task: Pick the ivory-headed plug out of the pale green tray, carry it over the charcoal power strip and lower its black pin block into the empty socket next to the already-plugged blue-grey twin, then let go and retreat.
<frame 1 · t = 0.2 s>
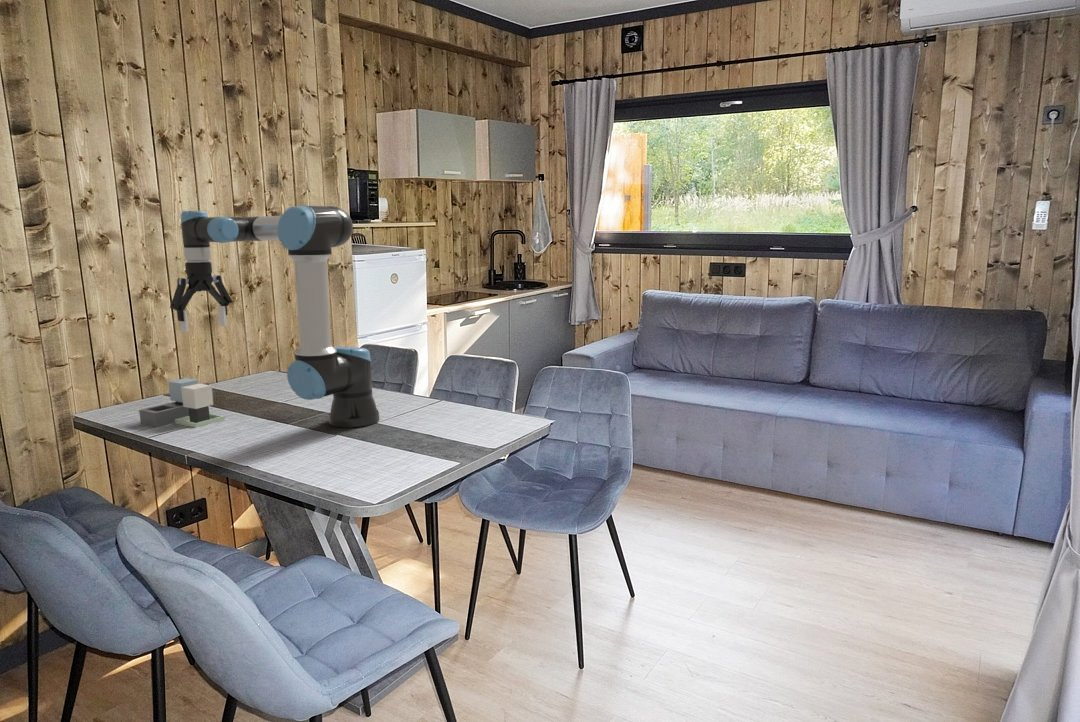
hand: (204, 328, 240), 27 cm above the table, fingers open, 13 cm apart
plug: (200, 421, 231), point 1 cm above the table, touching tray
tray: (200, 423, 231), on the table
strip: (174, 421, 234), on the table
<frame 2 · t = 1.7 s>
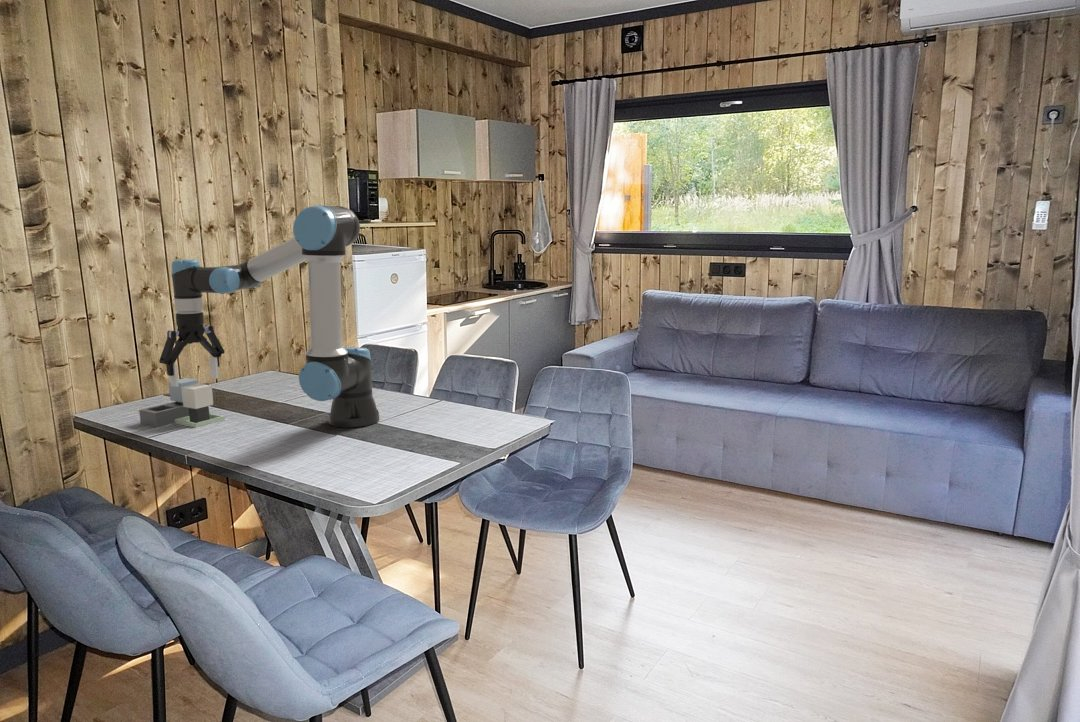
hand: (195, 381, 229), 13 cm above the table, fingers open, 13 cm apart
nothing on the table moved.
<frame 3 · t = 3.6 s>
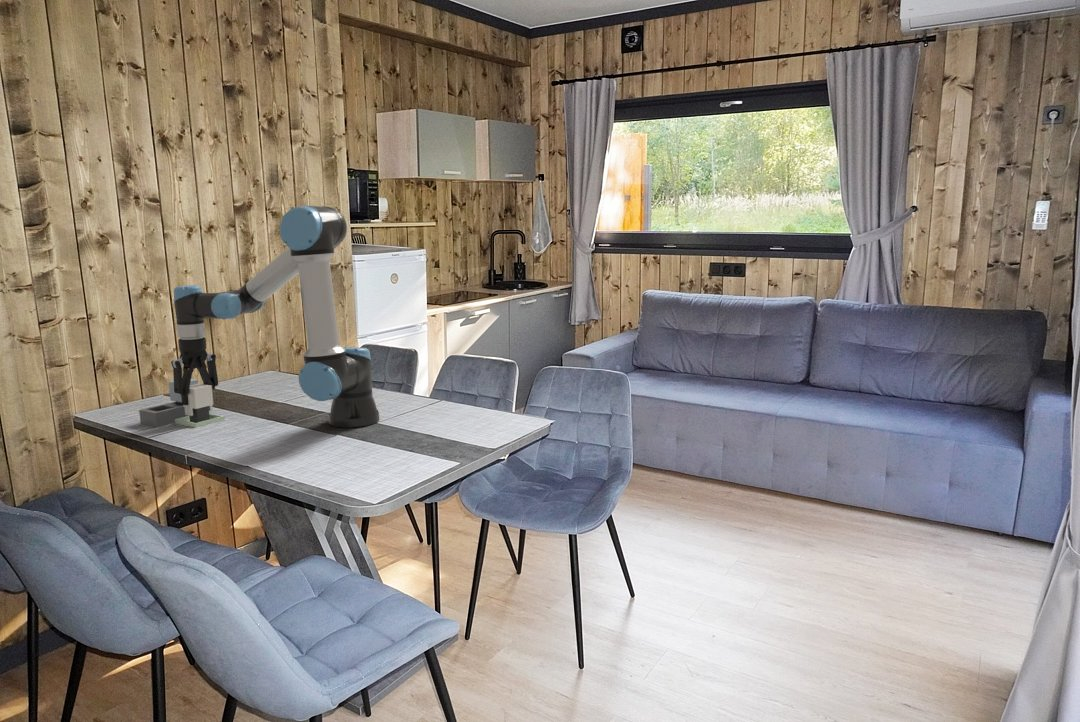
hand: (199, 412, 230), 3 cm above the table, fingers closed on plug, 6 cm apart
plug: (200, 421, 231), point 1 cm above the table, touching gripper, tray
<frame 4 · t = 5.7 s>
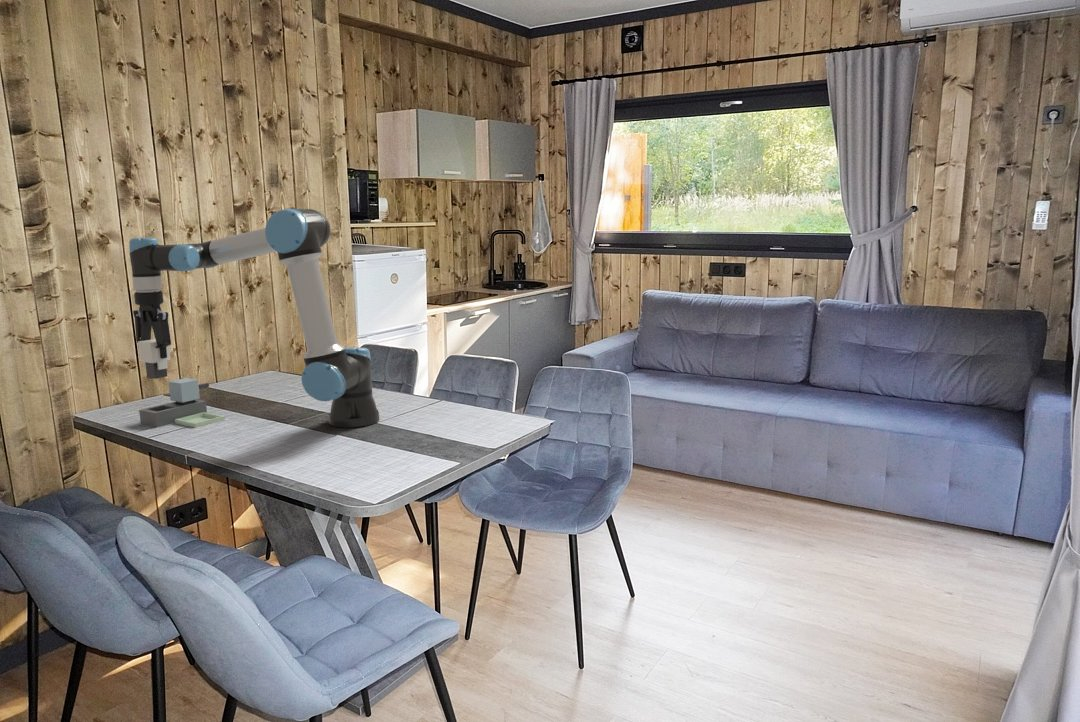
hand: (156, 367, 227), 18 cm above the table, fingers closed on plug, 6 cm apart
plug: (157, 376, 228), point 15 cm above the table, touching gripper
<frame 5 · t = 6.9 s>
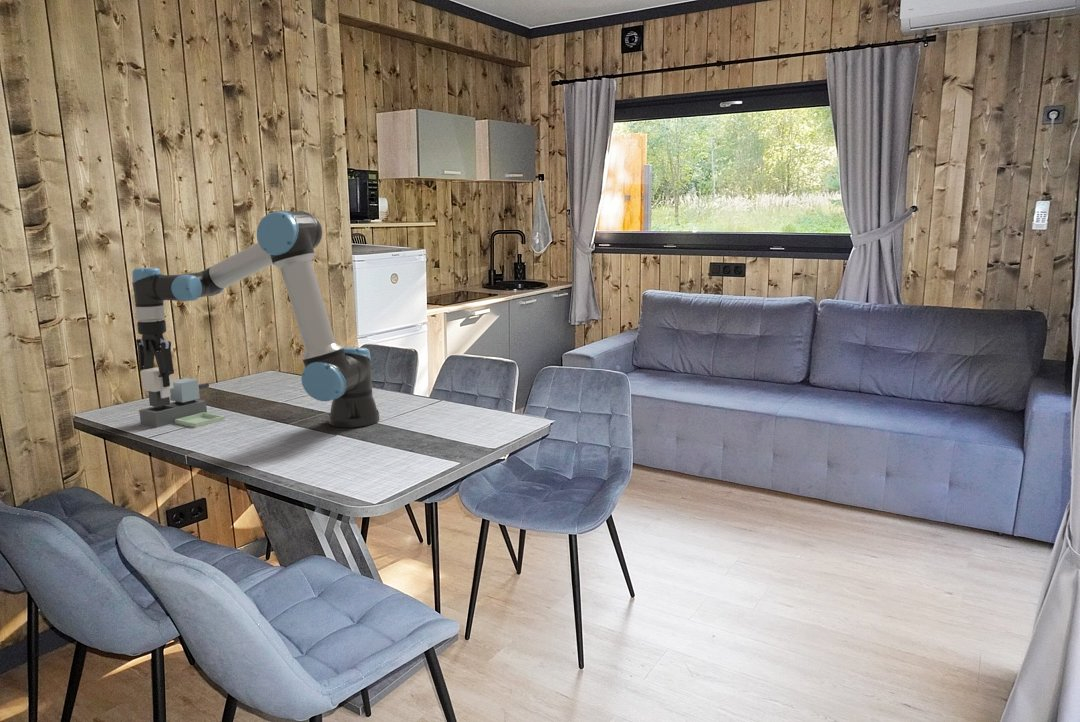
hand: (158, 395, 229), 9 cm above the table, fingers closed on plug, 6 cm apart
plug: (160, 405, 229), point 6 cm above the table, touching gripper
when the fingers open (6 cm above the table, at t = 7.8 s): plug drops 2 cm, resting on strip.
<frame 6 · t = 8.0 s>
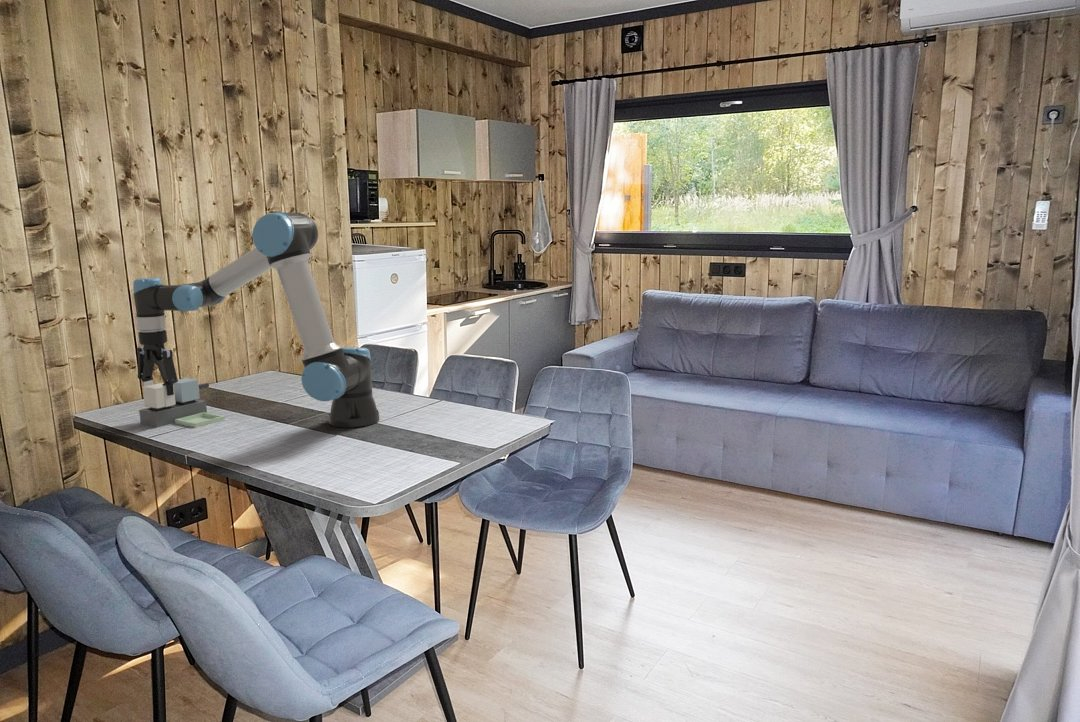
hand: (160, 403, 229), 6 cm above the table, fingers open, 9 cm apart
plug: (162, 421, 230), point 1 cm above the table, touching strip
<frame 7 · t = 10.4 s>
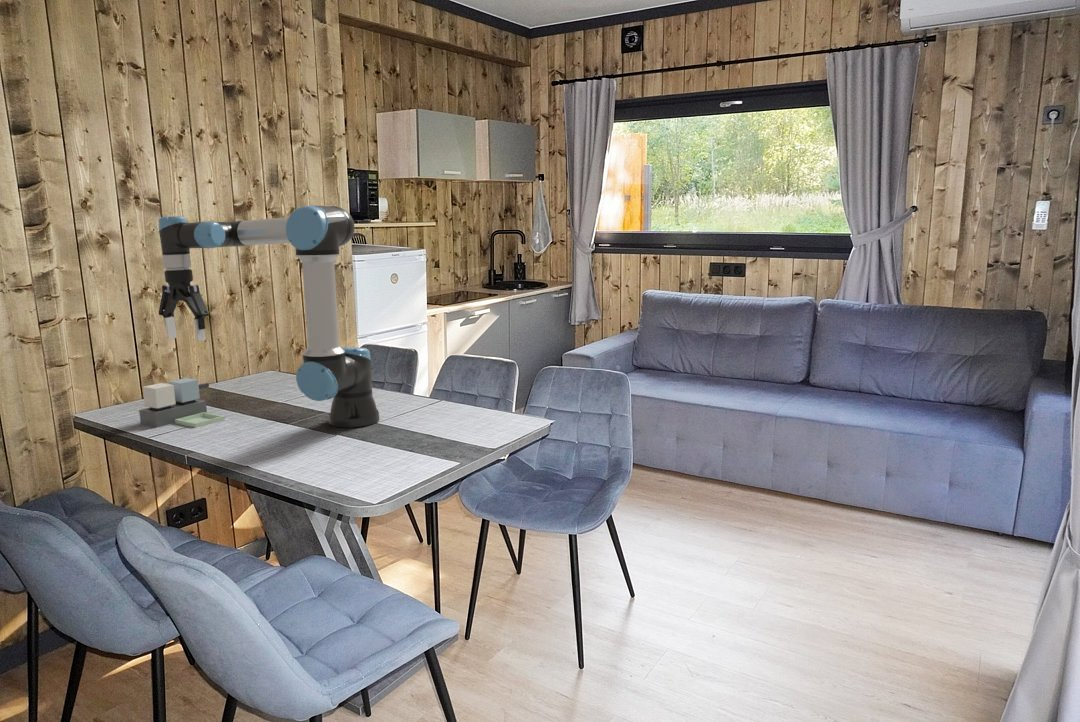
hand: (186, 339, 230), 25 cm above the table, fingers open, 13 cm apart
nothing on the table moved.
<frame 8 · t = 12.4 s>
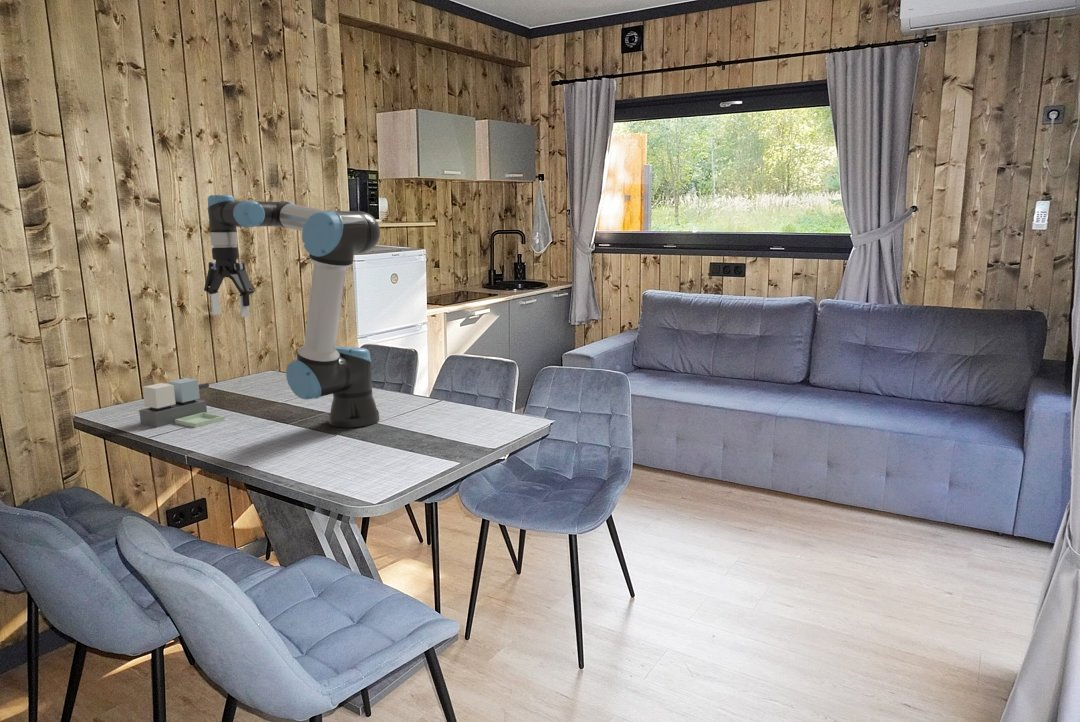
hand: (230, 315, 235), 32 cm above the table, fingers open, 13 cm apart
nothing on the table moved.
at the end: plug 0.0 cm from the target spot on the strip, point 1.0 cm above the strip's base; plug tilted 0°; the gripper is holding nothing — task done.
